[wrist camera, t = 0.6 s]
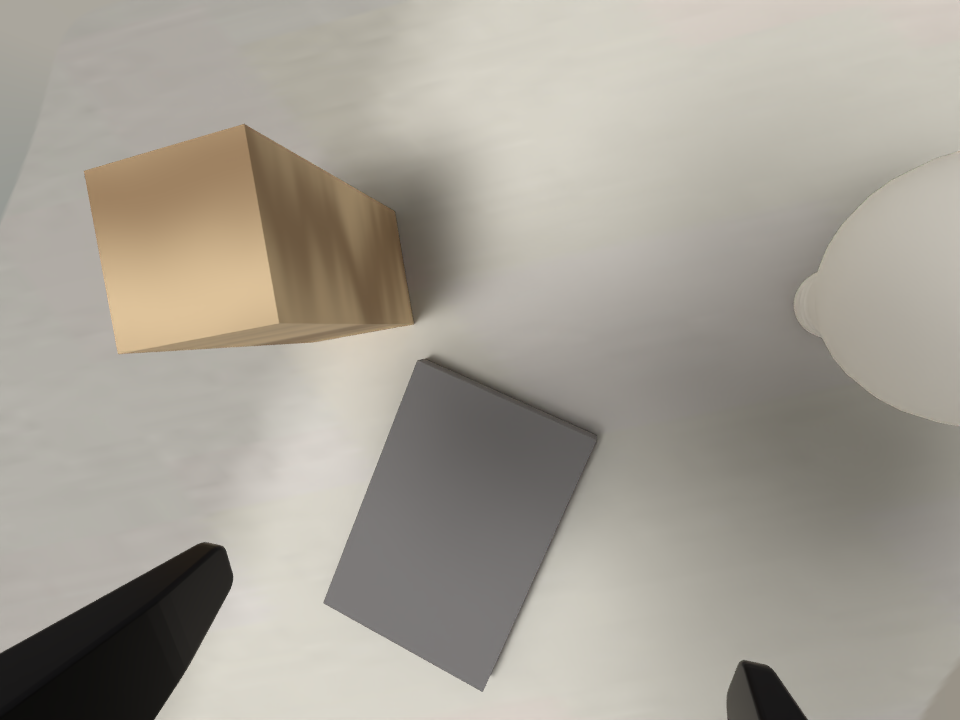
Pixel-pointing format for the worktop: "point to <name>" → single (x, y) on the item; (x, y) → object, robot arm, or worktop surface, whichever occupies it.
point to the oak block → (241, 248)
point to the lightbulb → (896, 293)
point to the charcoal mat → (457, 520)
